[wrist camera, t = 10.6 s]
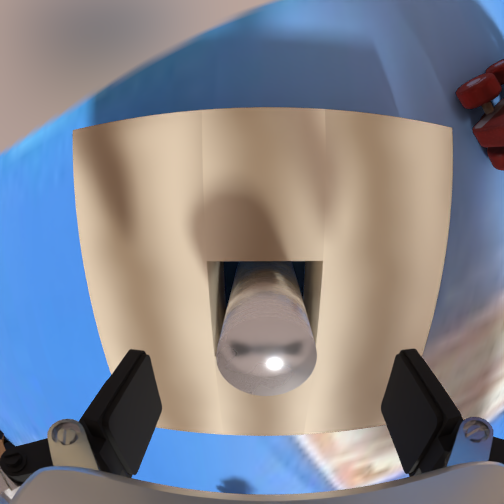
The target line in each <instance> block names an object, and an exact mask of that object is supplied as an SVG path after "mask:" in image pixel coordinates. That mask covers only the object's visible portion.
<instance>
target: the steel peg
mask: <svg viewBox="0 0 504 504" xmlns="http://www.w3.org/2000/svg"><path fill="white" fill-rule="evenodd" d="M216 361H217V366H218V369H219V371H220V373H221V375H222V376H223V377H224V379H225V380H226V381H227V382H228V383H229V384H231V385H232V386H233V387H235V388H237V389H238V390H241V391H243V392H245V393H248V394H252V395H258V396H274V395H280V394H284V393H286V392H289V391H291V390H293V389H295V388H297V387H299V386H300V385H301V384H303V383H304V382H305V381H306V380H307V379H308V378H309V376H310V375H311V374H312V372H313V370H314V368H315V365H316V361H317V350H316V346H315V342H314V338H313V335H312V331H311V327H310V324H309V320H308V317H307V313H306V309H305V306H304V302H303V299H302V295H301V292H300V288H299V285H298V281H297V278H296V274H295V271H294V267H293V264H292V262H291V261H239V263H238V266H237V270H236V274H235V278H234V282H233V286H232V290H231V294H230V298H229V302H228V306H227V310H226V314H225V318H224V323H223V327H222V331H221V335H220V339H219V343H218V347H217V352H216Z"/></svg>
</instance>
